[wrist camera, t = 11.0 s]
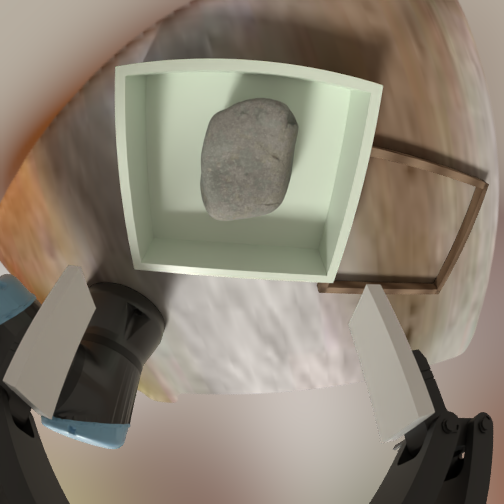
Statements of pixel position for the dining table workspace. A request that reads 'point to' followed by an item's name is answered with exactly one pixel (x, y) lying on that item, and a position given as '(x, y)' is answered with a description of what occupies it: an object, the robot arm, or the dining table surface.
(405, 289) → the frame
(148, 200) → the bin
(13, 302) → the robot arm
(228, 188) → the stone
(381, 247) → the dining table surface
